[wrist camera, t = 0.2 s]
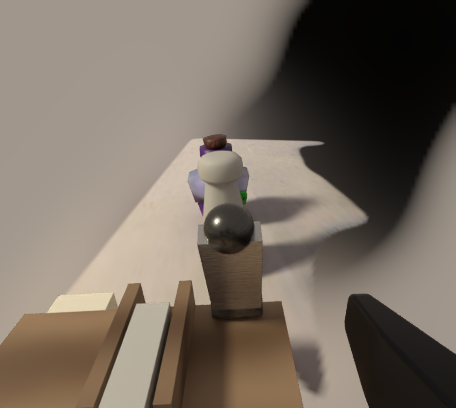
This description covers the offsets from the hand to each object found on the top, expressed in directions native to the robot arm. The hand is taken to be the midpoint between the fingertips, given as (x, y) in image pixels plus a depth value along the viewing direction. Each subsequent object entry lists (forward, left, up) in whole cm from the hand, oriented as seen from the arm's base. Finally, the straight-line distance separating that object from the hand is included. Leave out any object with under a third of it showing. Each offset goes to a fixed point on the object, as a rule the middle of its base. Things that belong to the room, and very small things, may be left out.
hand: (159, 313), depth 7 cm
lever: (+10, -2, -9) cm, 13 cm away
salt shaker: (+23, -1, -16) cm, 28 cm away
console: (+7, +4, -16) cm, 18 cm away
